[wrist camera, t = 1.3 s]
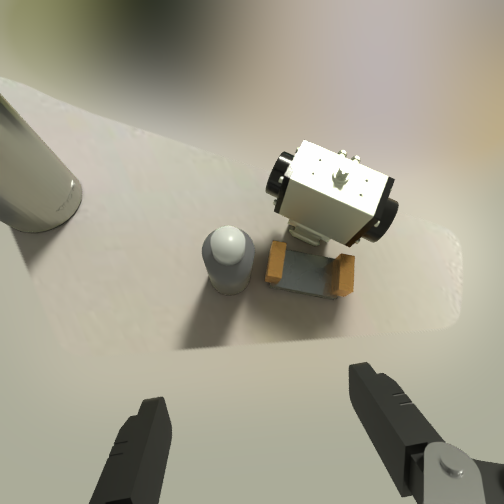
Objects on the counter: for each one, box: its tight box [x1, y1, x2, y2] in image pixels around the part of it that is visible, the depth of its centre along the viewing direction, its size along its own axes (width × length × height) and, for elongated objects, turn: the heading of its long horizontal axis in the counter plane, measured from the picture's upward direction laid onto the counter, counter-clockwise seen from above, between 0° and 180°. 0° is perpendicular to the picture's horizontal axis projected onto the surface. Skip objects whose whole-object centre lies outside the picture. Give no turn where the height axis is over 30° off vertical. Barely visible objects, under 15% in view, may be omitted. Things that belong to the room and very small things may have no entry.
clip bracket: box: [265, 241, 355, 300], centre depth 29 cm, size 9×5×4 cm, turn 80°
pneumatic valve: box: [266, 140, 399, 247], centre depth 28 cm, size 6×12×12 cm, turn 63°
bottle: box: [202, 226, 255, 295], centre depth 26 cm, size 5×5×10 cm
